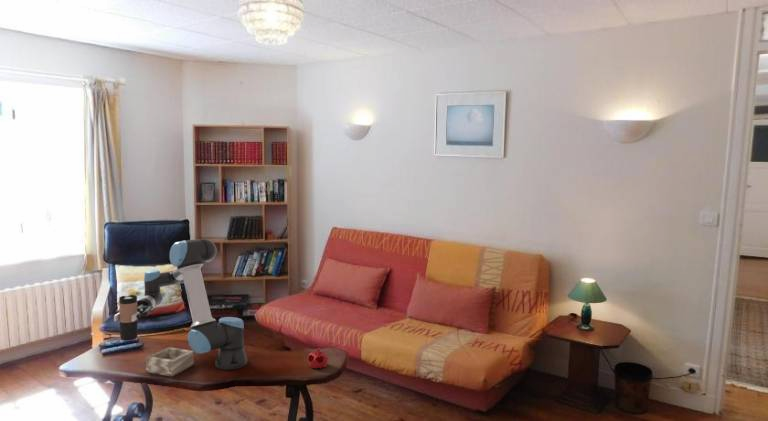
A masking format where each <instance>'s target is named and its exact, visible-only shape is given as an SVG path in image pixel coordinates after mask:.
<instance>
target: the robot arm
mask: <svg viewBox="0 0 768 421" xmlns="http://www.w3.org/2000/svg"><path fill="white" fill-rule="evenodd" d="M217 250H218V249H217V246H216V244H215V243H214V242H213V241H212V240H210V239H207V238H198V239H187V240H181V241H176V242H174V243H173V244H172V246H171V247H170V250H169V261H170V264H171V265H172V266H173V267H175V268H174V269H172V270H171V271H165V272H161V271H160V270H159V269H149V270H146V271H145V272H144V275H143V276H144V279H143V282H144V284H143V285H144V296H143V297H141V298H140V299H137V313H135V314H134V315H132V322H134V321H135V320H136V319H140V318H143V317H144V318H146V317H148V316H149V315H150V314H151V313H152V312H154V308H156V307H157V306H159V305H160V304H161V303H162V301H163V300H164V295H163V294H162V292H161V288H163V287H167V286H168V287H169V286H174V285H181V284H184V287H185V292H186V295H187V296H186V298H187V301H188V305H189V310H190V314H191V315H190V316H191V319H192V323H191V325H190V331H188V334H187V342H188V345H189V347H190V349H191V351H194V352H195V353H196V354H205V353H209V352H211V351H215V350H218V353H217V356H216V358H215V367H216V368H217V369H219V370H225V371H229V370H231V371H232V370H237V369H241V368H243V367H245V366H246V365H247V364H248V356H247V354H246V351H245V348H244V344H245V343H244V339H245V338H244V337H245V336H244V334H245V331H244V329H245V326H244V325H245V324H244V320H243V319H241V318H239V317H234V316H224V317H220V318H219V319H218V322H217V320H216V318H214V317H213V316H212V312H211V308H210V304H209V298H208V296H207V295H208V294H207V290H206V286H205V282H204V278H203V277H204V276H203V273H202V270H201V269H202V267H203V266H204V265H208V264H210V262H213V260H214V259H215V258H216V256H217V252H218V251H217ZM113 321H114V322H117V321H120V313H119V309H116V310H115V315H113Z"/></svg>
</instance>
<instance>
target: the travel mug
mask: <svg viewBox="0 0 768 421" xmlns="http://www.w3.org/2000/svg"><path fill="white" fill-rule="evenodd" d="M118 301H119V306H118V307H119V308H118V310H119V313H120V319H119V332H120V333H119V335H120V340H121V341H132V340H135V339H137V338H138V321H139V320H138V319H139V318H138V319H136V320H135V321H134V322H132V315H134V314H135V313H137V301H138V296H137V295H135V294H130V295H128V296H125V295H122V296H120V297H119V300H118Z"/></svg>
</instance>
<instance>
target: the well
mask: <svg viewBox="0 0 768 421" xmlns="http://www.w3.org/2000/svg"><path fill="white" fill-rule="evenodd" d="M194 357H195V355H194V351H193V350H192V349H191V350H189V349H184V348H177V347H171V346H167V347H165V348H163V349H161V350H159V351H157V352H155V353H152V354H150V355H148V356H146V357H145V372H146V373H151V374H157V375H161V376H167V377H174V376H176V375H178V374H179V373H182V372H183V371H185V370H187V369H189V368H191V367H192V366H194V362H195V361H194Z"/></svg>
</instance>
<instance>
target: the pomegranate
mask: <svg viewBox="0 0 768 421" xmlns="http://www.w3.org/2000/svg"><path fill="white" fill-rule="evenodd" d="M307 362H308V365H309V367H310V368H312V369H317V368H320V369H323V368H322V367H324V368H325V367H326V366H327V364H328V362H329V357H328V355H327V354H326V352H325V349H324V350H321V348H320V347H319V348H318V349H316V350H313V351H312V352H310V353H309V354H308V356H307Z"/></svg>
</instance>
